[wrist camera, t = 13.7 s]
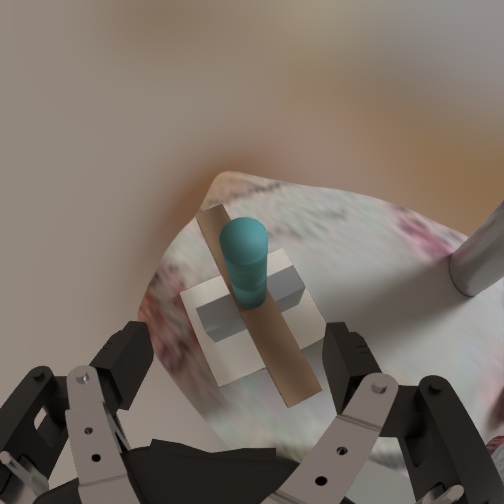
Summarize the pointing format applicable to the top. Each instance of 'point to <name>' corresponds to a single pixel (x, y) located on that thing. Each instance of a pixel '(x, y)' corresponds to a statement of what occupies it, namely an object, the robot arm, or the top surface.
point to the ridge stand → (233, 328)
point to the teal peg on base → (257, 299)
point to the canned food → (497, 454)
